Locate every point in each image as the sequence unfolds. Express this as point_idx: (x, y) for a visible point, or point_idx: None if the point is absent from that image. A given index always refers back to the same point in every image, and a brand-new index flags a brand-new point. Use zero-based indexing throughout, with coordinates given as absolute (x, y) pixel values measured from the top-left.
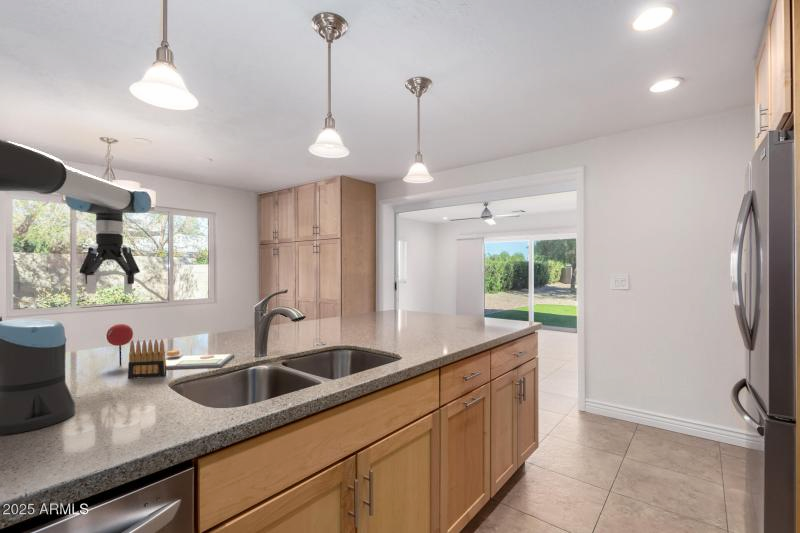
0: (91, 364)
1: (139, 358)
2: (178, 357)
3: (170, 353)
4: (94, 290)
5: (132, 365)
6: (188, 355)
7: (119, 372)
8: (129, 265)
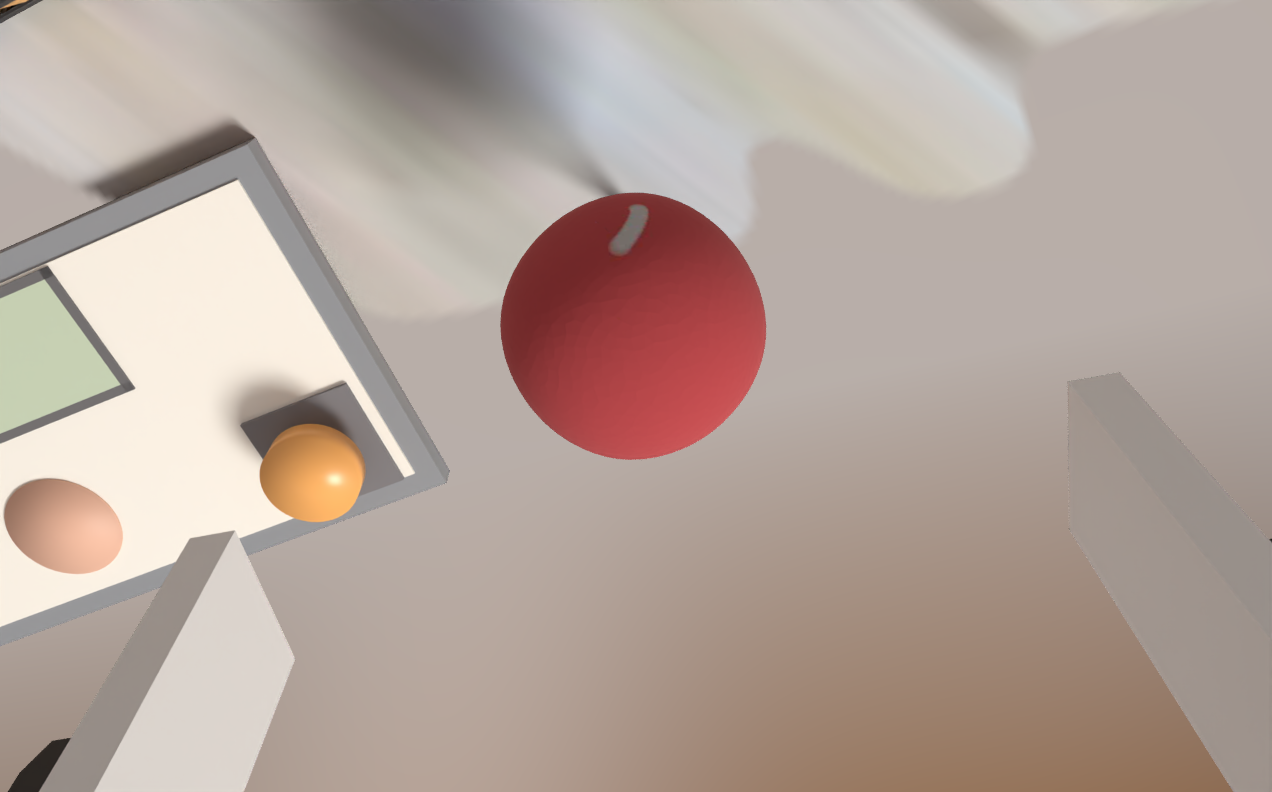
0: (945, 179)
1: None
2: None
3: (287, 437)
4: (1093, 542)
5: None
6: (285, 540)
7: (402, 26)
8: None
